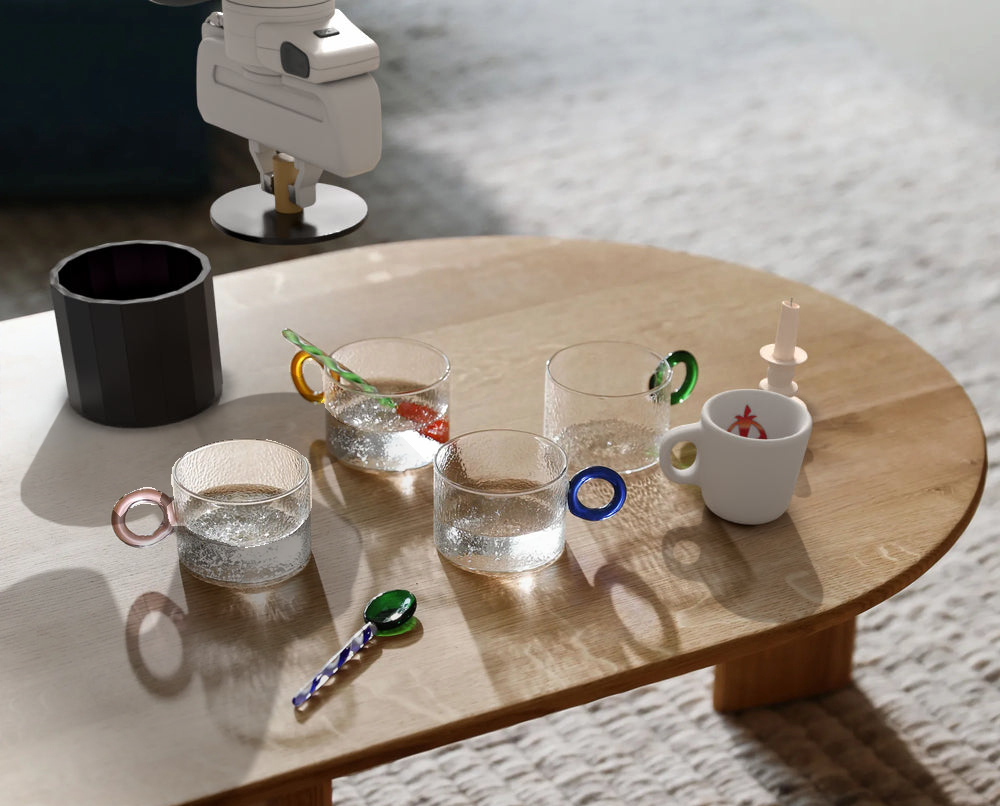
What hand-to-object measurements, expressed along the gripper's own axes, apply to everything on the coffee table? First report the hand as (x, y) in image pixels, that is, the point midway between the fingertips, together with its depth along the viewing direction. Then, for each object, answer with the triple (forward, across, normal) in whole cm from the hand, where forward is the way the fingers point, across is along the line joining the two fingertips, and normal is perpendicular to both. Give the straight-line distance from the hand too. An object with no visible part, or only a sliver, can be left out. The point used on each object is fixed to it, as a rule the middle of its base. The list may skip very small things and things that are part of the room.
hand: (288, 198), depth 119 cm
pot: (+14, -2, -15) cm, 20 cm away
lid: (+2, 0, 0) cm, 2 cm away
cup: (+14, +43, +6) cm, 46 cm away
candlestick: (+13, +37, +21) cm, 45 cm away
